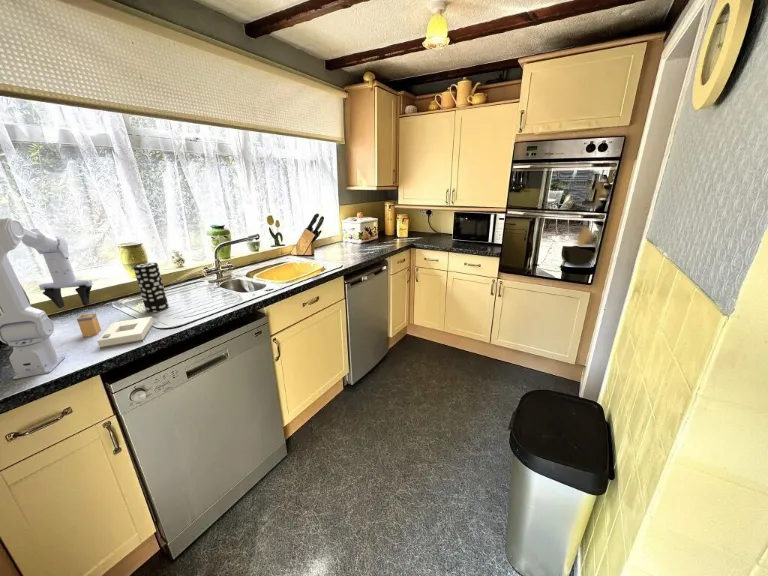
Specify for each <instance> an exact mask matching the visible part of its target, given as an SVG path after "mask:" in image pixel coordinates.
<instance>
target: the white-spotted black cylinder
mask: <svg viewBox="0 0 768 576" xmlns="http://www.w3.org/2000/svg"><path fill="white" fill-rule="evenodd" d="M133 271H134V274H135V277H136V282H137V284H138V289H139V291H140V295H141V298H142V302H143V306H144V309H145V312H146V311H147V313H157V312H162V311H165V310H167V309H168V308H169V307H170V306H169V303H168V298H167V296H166V295H167V294H166V291H165V287H164V284H163V279H162V276H161V271H160V267H159V265H158V262H147V263H146V262H145V263H140V264H136V265H133Z"/></svg>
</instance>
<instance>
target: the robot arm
mask: <svg viewBox="0 0 768 576" xmlns="http://www.w3.org/2000/svg"><path fill="white" fill-rule="evenodd" d="M21 242H22V243H23V244H24V245H25V246H27V247H30V248H32V249H34V250H36V252H37V253H38V254H39V255H43V258H44V260H45V263H46V266H47V268H48V271H49V274H50V276H51V279H52V281H53V282H47V283H46V282H45V283H40V284H39V285H38V288H39V289H40V291H43V292H42V294H43V295H44V296H46V297H47V298H48V299H49V300H51V302H53V303H54V304H55V306H56V307H57V308H58V309H62V308H64V307H65V302H64V300H63V296H62V289H66V288H75V289H74V291H75V292H76V293H77V294H78V297H79V298H80V300H81V303H82V305H83V307H85V306H86V307H87V306H88V305H90V294H91V290H92V287H93V284H94V283H93V281H92V279H76V276H75V273H74V270H73V268H72V264H71V262H70V259H69V257H70V254H69V245H68V242H67V240H66V239H65V238H64V237H61V236H52V235H50V234H49V233H46V232H43V231H41V229H39V228H32V229H28V228H26V227H24V226H23V225H22V222H21V221H20V220H19V219H16V218H14V217H6V218H0V308H1V311H2V312H3V313H2V314H1V315H0V341H1V342H2V343H3V344H7V345H8V346H9V347H13V350H12V353H10V356H9V362H10V364H11V366H12V369H13V371H14V372H15V376H13V377H12V378H13V380H16V379H23V378H28V377H32V376H38V375H43V374H49V373H50V372H52V371H53V370H54V369H56V367H57V366H58V365H60V363H61V362H62V361H63V360H64V359H65V358H66V356H65V355H61V356H57V354H56V350H55V348H54V345H53V344H52V341H51V339H50V337H51V336H52V335H53V333H54V330H55V325H54V322H53V320H52V319H50V317H48V315H47V313H46V312H45V311H44V310H42V309H39V308H36V307H33V306H31V304H30V302H29V300H28V298H27V296H26V294H25V291H24V289H23V287H22V285H21V283H20V281H19V279H18V277H17V274H16V273H15V270H14V268H13V267H12V264H11V262H10V260H9V257H8V253H9V252H10V251H11V252H12V251H13V250H15V249H16V248H17V247H18V245H19V244H20V243H21Z"/></svg>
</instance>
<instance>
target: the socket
mask: <svg viewBox="0 0 768 576" xmlns="http://www.w3.org/2000/svg"><path fill="white" fill-rule="evenodd" d="M153 323H154V319H153V316H147V317H139V318H133V319H126V320H121V321H114V322H113V323H112V324H111V325H110V326H109V327H108V328H107V329H106V330H105V331H104V332H103V334H102V335H101V336H100V337H99V338H98V340H97V344H98V347H99V349H100V350H101V349H106V348H111V347H112V348H113V347H117V346H123V345H130V344H135V343H140V342H139V341H141V342H144V341H145V339H146V337H147V336H148V334H149V333H150V331H149V330H151V329H152V328H153V326H152V324H153ZM153 325H154V324H153ZM150 328H151V329H150ZM147 333H148V334H147ZM146 335H147V336H146ZM144 338H145V339H144ZM143 340H144V341H143Z"/></svg>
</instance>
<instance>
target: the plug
mask: <svg viewBox="0 0 768 576" xmlns="http://www.w3.org/2000/svg"><path fill="white" fill-rule="evenodd" d="M76 321H77V323H78V326H79V329H80V331H81V334H82V337H83V338H86V337H90V336H97V335H99V333H100V332H101V331H102V328H101V325H100V322H99V319H98V316H97V314H96V313H88V314H81V315H80V316H79V317H78V318H77V319H76Z"/></svg>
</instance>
